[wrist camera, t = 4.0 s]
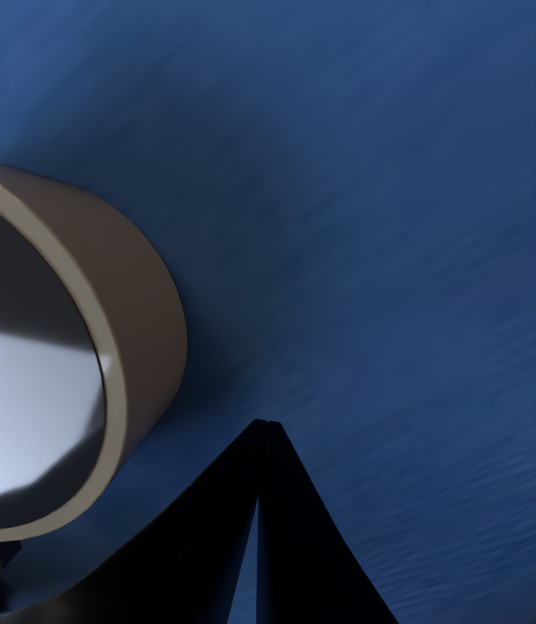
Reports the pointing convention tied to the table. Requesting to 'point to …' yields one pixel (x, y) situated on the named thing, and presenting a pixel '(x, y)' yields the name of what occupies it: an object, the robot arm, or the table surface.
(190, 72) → the table surface
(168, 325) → the pot
